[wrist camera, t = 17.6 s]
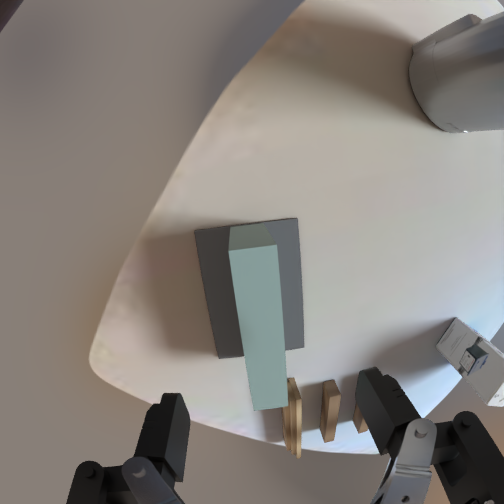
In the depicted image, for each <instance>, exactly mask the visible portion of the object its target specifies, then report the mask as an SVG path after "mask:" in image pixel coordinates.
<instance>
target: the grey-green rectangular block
mask: <svg viewBox="0 0 504 504" xmlns="http://www.w3.org/2000/svg"><path fill="white" fill-rule="evenodd" d="M228 251H229V258H230V266H231V272H232V279H233V286H234V293H235V300H236V306H237V313H238V319H239V325H240V332H241V338H242V344H243V350H244V356H245V362H246V368H247V374H248V380H249V386H250V392H251V397H252V403H253V409H254V411H257V410H265V409H272V408H279V407H285V406H288V391H287V373H286V356H285V341H284V326H283V312H282V299H281V286H280V274H279V263H278V251H277V244H276V243H275V241H274V239H273V238H272V236H271V235H270V233H269V232H268V230H267V228H266V227H265V225H264V224H263V223H259V224H251V225H243V226H235V227H230V238H229V250H228Z"/></svg>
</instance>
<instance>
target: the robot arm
mask: <svg viewBox="0 0 504 504" xmlns="http://www.w3.org/2000/svg"><path fill="white" fill-rule="evenodd" d="M412 49H413V57H412V59H411V61H410V66H409V77H410V82H411V86H412V89H413V92H414V94H415V97H416V99H417V101H418V103H419V105H420V106H421V108H422V109H423V111H424V112H425V114H426V115H427V116H428V117H429V118H430V120H431V121H432V122H433V123H434V124H436V125H437V126H438V127H439V128H441V129H443V130H444V131H447V132H450V133H461V132H463V133H465V132H473V131H486V130H504V12H501V13H498V14H496V15H493V16H491V17H489V18H486V19H484V20H482V19H480V18H479V17H477V16H476V15H473V14H468V15H466V16H464V17H462V18H460V19H458V20H456V21H454V22H453V23H451V24H449V25H447V26H445V27H443V28H441V29H440V30H438V31H436V32H434V33H433V34H431V35H429V36H427V37H426V38H424V39H422V40H421V41H419V42H417V43H416V44H414V45H412ZM355 396H356V402H357V405H358V407H359V409H360V411H361V414H362V416H363V418H364V420H365V422H366V424H367V426H368V429H369V431H370V433H371V435H372V437H373V439H374V442H375V444H376V446H377V448H378V450H379V453H380V455H384V454H387V453H389V454H390V456H391V458H390V460H389V463H388V465H387V468H386V471H385V473H384V476H383V478H382V481H381V483H380V486H379V488H378V490H377V492H376V494H375V496H374V497H373V499H372V501H371V503H370V504H423V503H424V501H425V498H426V494H427V491H428V487H429V484H430V481H431V476H432V472H431V471H429V468H430V465H432V464H433V465H434V467H435V469H436V472H437V474H438V476H439V478H440V480H441V483H442V485H443V487H444V490H445V492H446V494H447V496H448V499H449V501H450V504H504V457H503V456H502V454H501V452H500V451H499V449H498V447H497V446H496V444H495V443H494V441H493V439H492V438H491V436H490V435H489V433H488V432H487V430H486V429H485V427H484V426H483V424H482V423H481V421H480V420H479V418H478V417H477V416H476V415H475V414H474V413H472V412H469V411H463V412H460V413H458V414H457V415H456V416H455V417H454V419H453V421H448V422H443V423H433V422H432V421H431V420H429V419H425V418H421V416H420V415H419V414H418V412H417V411H416V409H415V407H414V406H413V404H412V403H411V401H410V400H409V398H408V397H407V395H405V392H404V391H403V389H401V387H400V385H399V384H398V382H397V381H396V380H395V379H394V378H392V377H391V376H389V375H388V374H387V375H384V376H383V375H382V374H381V372H380V371H379V369H378V368H377V367H373V368H369V369H365V370H362V371H360V373H359V377H358V383H357V388H356V394H355ZM142 428H143V429H142V430H141V433H140V437H139V440H138V444H137V447H136V450H135V454H134V456H133V457H132V458H130V459H128V460H127V461H126V462H125V463H124V464H123V465H121V466H114V467H102V466H101V465H100V464H98V463H97V462H94V461H85V462H83V463H81V464H80V465H79V466H78V467H77V469H76V472H75V475H74V478H73V482H72V485H71V488H70V492H69V495H68V499H67V503H66V504H185V503H184V501H183V500H182V499H181V498H180V496H179V495H178V494H177V492H176V491H175V490H174V485H175V482H183V476H184V468H185V459H186V452H187V445H188V437H189V430H190V416H189V412H188V410H187V408H186V405H185V403H184V400H183V397H182V395H181V394H180V393H164V394H163V395H162V398H161V402H160V404H153V405H152V406H151V407H150V409H149V410H148V411H147V413H146V417H145V422H144V424H143V426H142Z"/></svg>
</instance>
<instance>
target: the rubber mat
mask: <svg viewBox="0 0 504 504" xmlns="http://www.w3.org/2000/svg"><path fill="white" fill-rule="evenodd" d="M259 223H263V224H264V225H265V227H266V228H267V230H268V232H269V233H270V235H271V236H272V238H273V239H274V241H275V243H276V244H277V251H278V263H279V274H280V286H281V299H282V312H283V326H284V341H285V351H286V350H292V349H298V348H304V319H303V294H302V274H301V258H300V243H299V229H298V218H292V219H283V220H274V221H266V222H257V223H249V224H241V225H233V226H225V227H218V228H210V229H203V230H195V231H194V232H195V238H196V244H197V251H198V256H199V262H200V268H201V274H202V279H203V284H204V290H205V295H206V300H207V305H208V310H209V315H210V320H211V325H212V330H213V334H214V339H215V343H216V348H217V352H218V357H219V359H222V358H233V357H242V356H244V350H243V344H242V338H241V332H240V325H239V319H238V313H237V306H236V300H235V293H234V286H233V279H232V272H231V266H230V258H229V251H228V250H229V238H230V227H235V226H243V225H251V224H259Z"/></svg>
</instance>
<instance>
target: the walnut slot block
mask: <svg viewBox="0 0 504 504" xmlns="http://www.w3.org/2000/svg"><path fill="white" fill-rule="evenodd" d="M340 399H341V393H340V391H339V389H338V387H337V385H336V383H335V381H334V380H330V381H325V382H323V397H322V410H321V422H320V431H321V434H322V437H323V440H324V443H325V442H330V441H334V437H335V431H336V425H337V419H338V413H339V406H340ZM353 422H354V424H355V427H356V429H357V431H358V433H362V432H365V431H367V430H368V426H367V424H366V422H365V420H364V418H363V416H362V414H361V411H360V409H359V407H358V405H357V402H356V407H355V412H354V416H353Z"/></svg>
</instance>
